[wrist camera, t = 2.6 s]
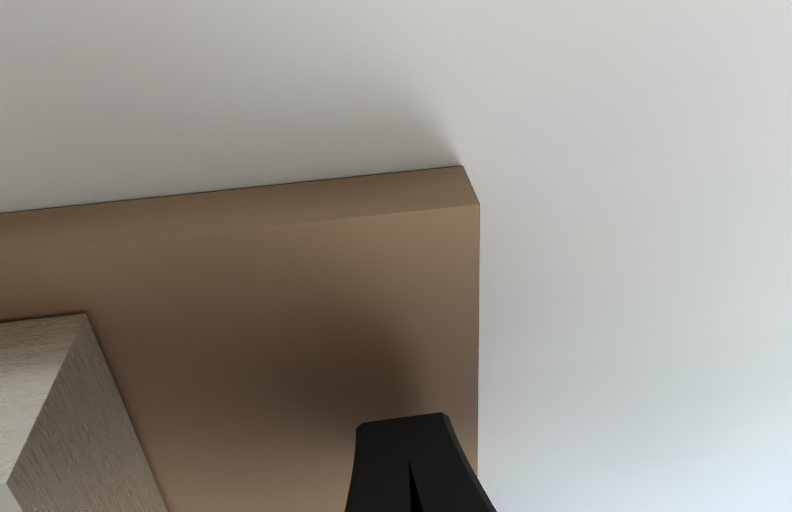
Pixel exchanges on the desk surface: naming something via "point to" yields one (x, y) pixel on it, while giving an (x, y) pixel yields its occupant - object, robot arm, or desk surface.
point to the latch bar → (66, 425)
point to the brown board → (266, 323)
